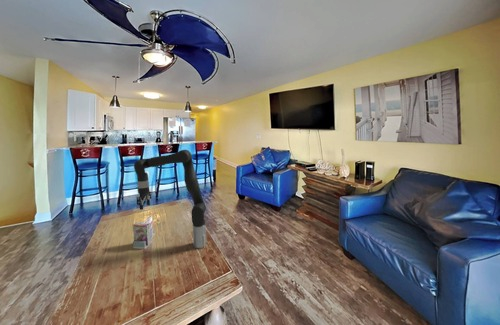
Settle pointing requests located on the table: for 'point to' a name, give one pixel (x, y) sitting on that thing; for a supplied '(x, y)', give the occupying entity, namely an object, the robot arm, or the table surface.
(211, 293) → the table surface
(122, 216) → the table surface
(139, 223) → the candy bar box
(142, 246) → the slotted rack
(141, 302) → the table surface
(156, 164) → the robot arm
